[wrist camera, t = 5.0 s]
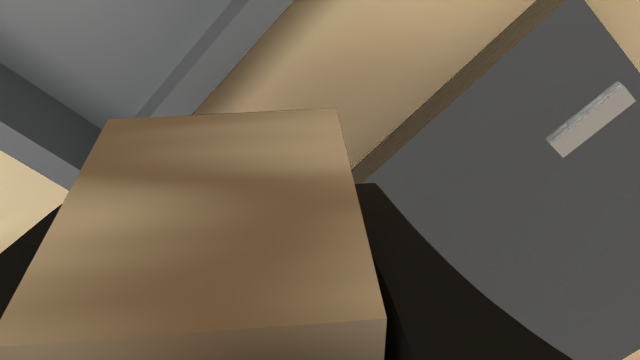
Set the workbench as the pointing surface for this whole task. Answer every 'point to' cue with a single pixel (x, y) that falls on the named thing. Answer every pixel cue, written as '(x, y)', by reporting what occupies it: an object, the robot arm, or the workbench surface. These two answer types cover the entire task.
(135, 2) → the tray
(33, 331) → the block
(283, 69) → the workbench surface
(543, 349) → the robot arm
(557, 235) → the crank base
